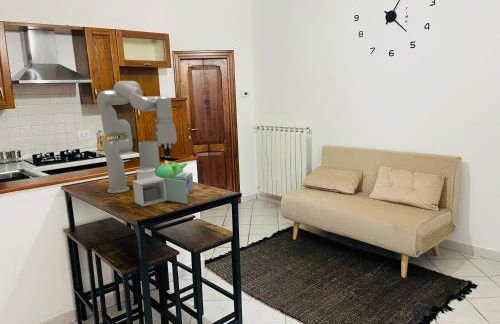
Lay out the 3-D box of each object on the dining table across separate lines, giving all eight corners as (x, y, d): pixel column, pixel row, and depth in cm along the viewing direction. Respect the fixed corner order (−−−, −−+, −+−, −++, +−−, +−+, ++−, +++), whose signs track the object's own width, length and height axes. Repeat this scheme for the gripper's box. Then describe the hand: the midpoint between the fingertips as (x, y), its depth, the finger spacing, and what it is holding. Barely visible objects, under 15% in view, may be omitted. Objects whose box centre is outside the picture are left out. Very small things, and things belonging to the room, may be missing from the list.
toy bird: (166, 179, 251) (164, 158, 248) (189, 180, 246) (187, 158, 243) (152, 186, 234) (150, 163, 231) (177, 187, 229) (175, 164, 226)
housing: (134, 202, 202) (132, 180, 200) (158, 196, 211) (156, 176, 208) (142, 206, 194) (140, 183, 192) (166, 200, 203) (165, 179, 201)
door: (186, 203, 195) (184, 181, 192) (167, 200, 203) (165, 178, 200) (188, 202, 196) (186, 180, 194) (169, 199, 204) (167, 177, 202)
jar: (147, 198, 209) (145, 171, 206) (134, 196, 215) (132, 170, 212) (161, 193, 218) (159, 168, 215) (148, 191, 223) (146, 166, 221)
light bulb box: (187, 194, 213) (186, 176, 211) (176, 194, 215) (174, 176, 213) (193, 189, 224) (192, 171, 222) (183, 189, 225) (181, 171, 223)
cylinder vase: (164, 177, 258) (161, 141, 254) (152, 181, 247) (149, 144, 242) (149, 176, 264) (146, 140, 259) (137, 180, 252) (134, 143, 248)
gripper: (154, 122, 186) (157, 159, 190) (181, 120, 195) (183, 155, 199) (148, 121, 191) (150, 157, 195) (174, 119, 201) (176, 153, 205)
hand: (167, 156), depth 197 cm, fingers closed
